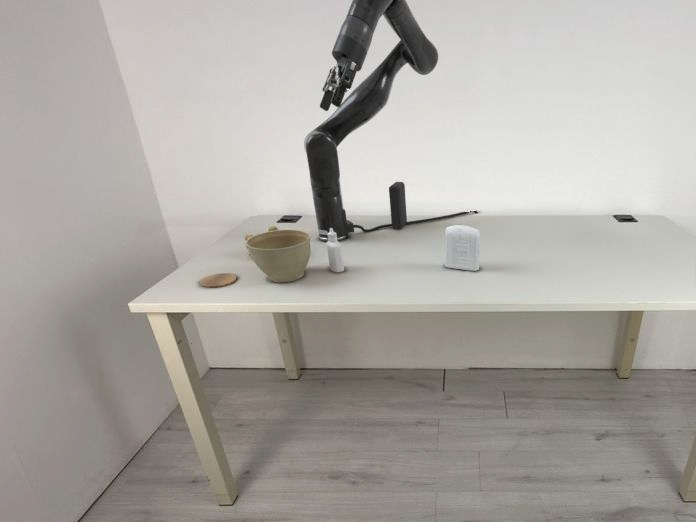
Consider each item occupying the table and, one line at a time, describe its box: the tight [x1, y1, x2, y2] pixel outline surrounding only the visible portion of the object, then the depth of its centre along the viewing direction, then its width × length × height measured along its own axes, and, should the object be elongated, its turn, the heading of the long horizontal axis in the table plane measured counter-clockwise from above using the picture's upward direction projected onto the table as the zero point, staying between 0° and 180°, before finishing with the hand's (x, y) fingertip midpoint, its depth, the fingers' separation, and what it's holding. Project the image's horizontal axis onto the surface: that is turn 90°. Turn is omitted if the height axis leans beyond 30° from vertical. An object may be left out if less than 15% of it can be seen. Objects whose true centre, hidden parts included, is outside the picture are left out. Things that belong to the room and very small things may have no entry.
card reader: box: [388, 181, 408, 230], centre depth 169 cm, size 9×4×15 cm, turn 172°
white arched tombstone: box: [444, 224, 481, 272], centre depth 134 cm, size 10×4×12 cm, turn 73°
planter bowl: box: [245, 229, 312, 283], centre depth 128 cm, size 16×16×11 cm
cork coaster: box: [199, 273, 237, 289], centre depth 128 cm, size 9×9×1 cm
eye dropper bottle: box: [326, 228, 345, 273], centre depth 133 cm, size 4×6×12 cm
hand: (329, 107), depth 116 cm, fingers open, 8 cm apart
